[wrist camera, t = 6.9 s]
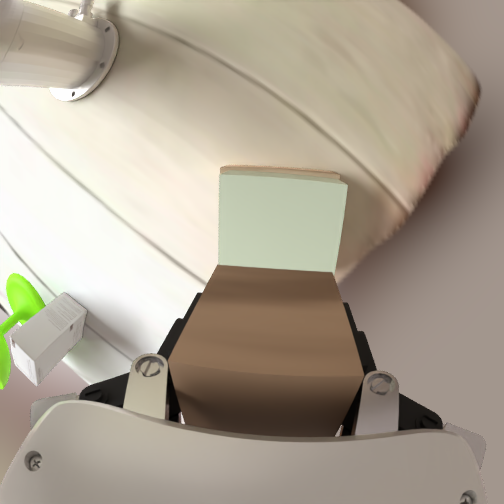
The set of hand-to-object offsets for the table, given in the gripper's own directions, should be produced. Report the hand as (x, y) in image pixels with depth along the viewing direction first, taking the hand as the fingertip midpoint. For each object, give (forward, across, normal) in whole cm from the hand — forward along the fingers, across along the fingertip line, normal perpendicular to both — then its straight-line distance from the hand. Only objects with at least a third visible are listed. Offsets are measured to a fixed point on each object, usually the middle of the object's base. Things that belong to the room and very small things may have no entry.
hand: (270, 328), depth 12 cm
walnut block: (+1, 0, 0) cm, 1 cm away
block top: (+15, 0, 0) cm, 15 cm away
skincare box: (+19, +34, +18) cm, 43 cm away
